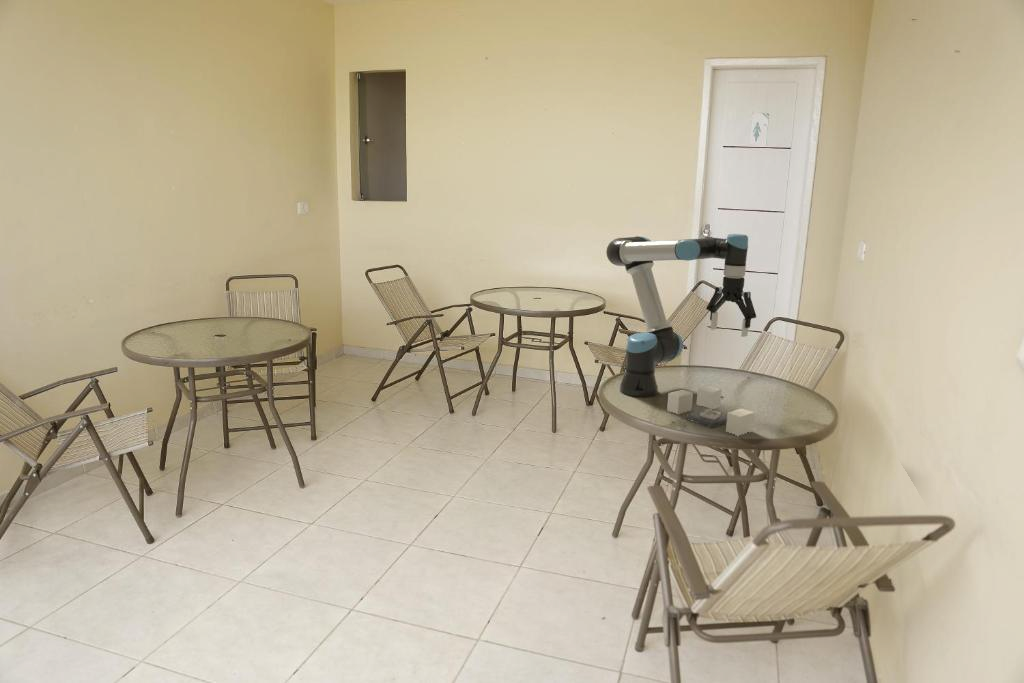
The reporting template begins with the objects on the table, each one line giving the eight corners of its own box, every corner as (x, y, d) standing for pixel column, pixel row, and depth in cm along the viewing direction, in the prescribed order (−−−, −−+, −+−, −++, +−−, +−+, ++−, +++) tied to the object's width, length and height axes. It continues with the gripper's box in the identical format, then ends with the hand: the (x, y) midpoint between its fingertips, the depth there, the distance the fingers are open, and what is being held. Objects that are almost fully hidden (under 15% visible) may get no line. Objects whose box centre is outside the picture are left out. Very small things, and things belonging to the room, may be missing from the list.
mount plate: (686, 419, 249) (687, 413, 249) (704, 413, 255) (704, 408, 255) (711, 428, 241) (712, 422, 241) (729, 422, 247) (729, 417, 246)
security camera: (703, 411, 252) (705, 385, 250) (721, 415, 248) (723, 389, 245) (695, 415, 248) (697, 388, 245) (713, 420, 243) (715, 393, 241)
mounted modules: (667, 410, 258) (668, 393, 256) (680, 407, 262) (682, 389, 261) (738, 436, 234) (740, 416, 232) (751, 431, 239) (754, 412, 237)
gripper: (770, 280, 246) (763, 337, 251) (712, 271, 266) (707, 325, 271) (757, 281, 242) (751, 340, 247) (700, 273, 261) (695, 327, 266)
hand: (728, 332), depth 259 cm, fingers open, 13 cm apart
